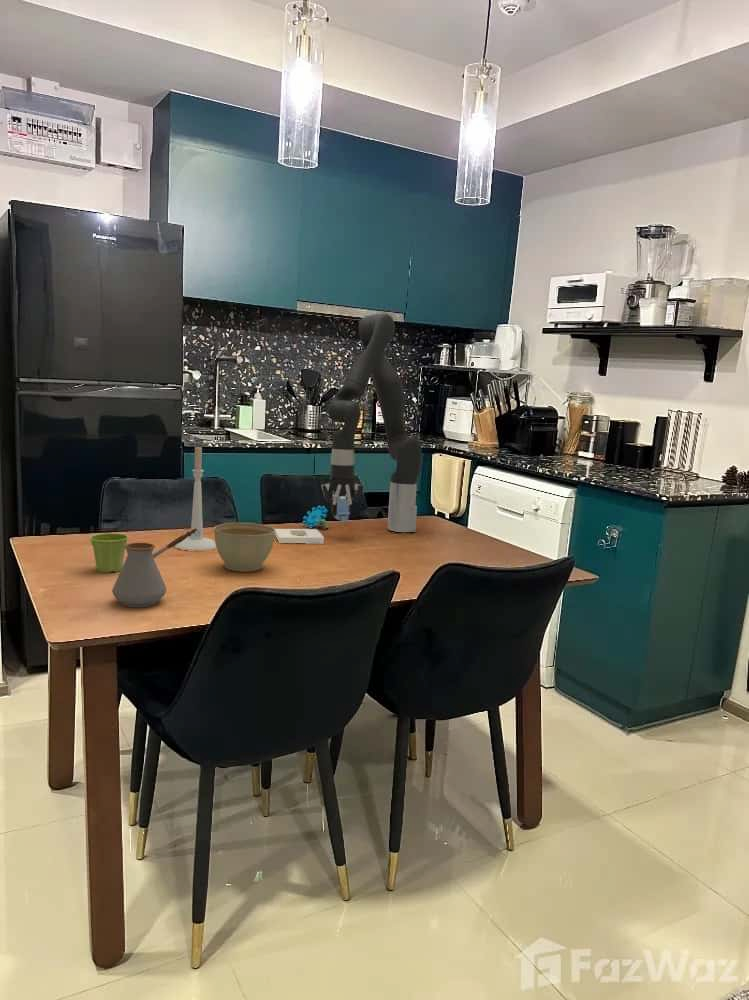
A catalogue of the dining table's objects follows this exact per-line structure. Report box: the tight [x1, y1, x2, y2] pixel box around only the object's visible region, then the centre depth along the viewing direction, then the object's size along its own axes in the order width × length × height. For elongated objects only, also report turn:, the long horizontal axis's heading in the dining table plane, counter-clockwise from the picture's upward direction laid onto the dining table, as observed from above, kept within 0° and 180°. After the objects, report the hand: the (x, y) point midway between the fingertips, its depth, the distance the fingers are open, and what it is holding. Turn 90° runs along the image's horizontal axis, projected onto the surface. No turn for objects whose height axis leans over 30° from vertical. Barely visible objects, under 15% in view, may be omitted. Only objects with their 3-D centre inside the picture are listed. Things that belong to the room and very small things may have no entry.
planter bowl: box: [213, 522, 276, 573], centre depth 196 cm, size 16×16×11 cm
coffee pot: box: [111, 528, 200, 608], centre depth 166 cm, size 21×12×15 cm, turn 140°
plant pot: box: [89, 532, 129, 573], centre depth 187 cm, size 9×9×9 cm
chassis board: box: [274, 528, 325, 545], centre depth 236 cm, size 14×13×2 cm
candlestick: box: [175, 445, 216, 550], centre depth 216 cm, size 13×13×30 cm
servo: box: [333, 495, 351, 522], centre depth 238 cm, size 4×9×7 cm, turn 15°
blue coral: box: [301, 505, 329, 529], centre depth 257 cm, size 11×6×10 cm
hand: (341, 515), depth 238 cm, fingers closed on servo, 3 cm apart
